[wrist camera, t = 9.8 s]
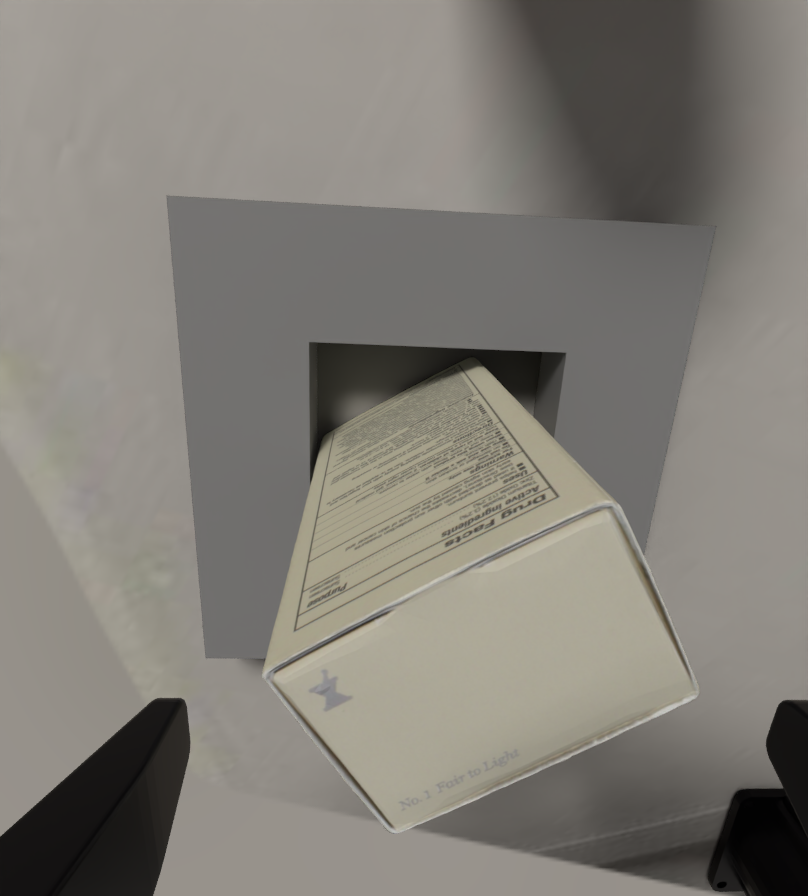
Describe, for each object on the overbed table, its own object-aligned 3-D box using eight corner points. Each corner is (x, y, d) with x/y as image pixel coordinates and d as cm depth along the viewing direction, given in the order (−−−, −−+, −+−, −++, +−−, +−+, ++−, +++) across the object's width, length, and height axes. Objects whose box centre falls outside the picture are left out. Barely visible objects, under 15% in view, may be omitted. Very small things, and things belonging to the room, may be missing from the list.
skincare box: (379, 527, 22) (382, 850, 10) (317, 430, 20) (241, 680, 9) (530, 451, 21) (715, 709, 10) (477, 343, 20) (620, 496, 8)
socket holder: (596, 619, 24) (620, 661, 21) (223, 614, 23) (205, 658, 20) (672, 227, 18) (715, 226, 16) (194, 200, 18) (166, 195, 15)
